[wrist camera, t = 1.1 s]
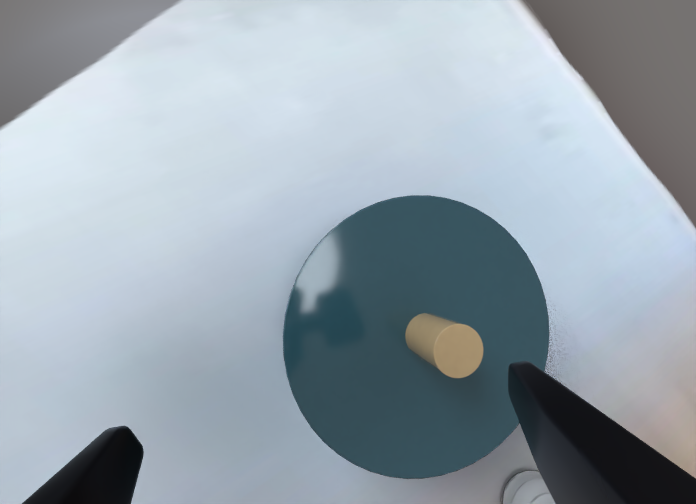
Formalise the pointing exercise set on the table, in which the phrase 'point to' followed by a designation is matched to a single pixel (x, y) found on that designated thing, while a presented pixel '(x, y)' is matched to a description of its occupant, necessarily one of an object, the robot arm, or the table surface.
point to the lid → (413, 335)
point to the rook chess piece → (527, 489)
